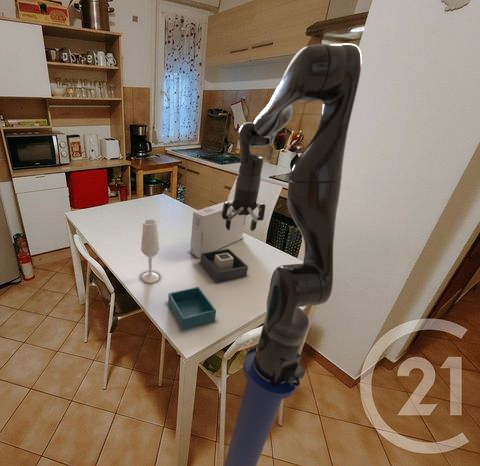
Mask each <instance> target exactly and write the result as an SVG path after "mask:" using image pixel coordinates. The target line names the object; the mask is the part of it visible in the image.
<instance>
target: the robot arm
mask: <svg viewBox="0 0 480 466" xmlns="http://www.w3.org/2000/svg"><path fill="white" fill-rule="evenodd" d="M362 59H363V58H362V52H361V50H360V47H358V46H357V45H356V44H354V43H322V44H321V43H318V44H316V43H315V44H311V45H306V46H303V47H302V48H301V49H300V50H299V51H298V52H297V53H295V55H294V56H293V58H292V59H291V61H290V62H289V64H288V66H287V68H286V69H285V71H284V73H283V75H282V77H281V79H280V80H279V83H278V84H277V86H276V88H275V90H274V92H273V94H272V95H271V98H270V100H269V101H268V103H267V104H266V106H265V107H264V108H263V109H262V110H261V112H259V114H258V115H257V116H256V118H255V120H254V121H246V122H243V124H242V125H241V126H240V128H239V130H238V141H239V142H238V143H239V151H240V162H239V168H238V174H237V177H236V182H235V188H234V189H235V190H234V195H233V199H234V201H233V202H232V203H230V202H227V201H228V200H224V201H223V202H224V205H223V210H222V218H223V219H226V224H225V226H226V228H227V230H230V225H231V219H232V218H233V217H235V216H236V215H237V214H238V215H246V216H248V215H250V217H251V218H252V219H251V222H250V227H249V229H250V231H251V232H254V231H255V230H256V228H257V224H258V222H259V221H264V218H265V211H266V205H265V203H264V202H263V201H260V202H258V203H257V201H258V197H259V192H260V186H261V180H262V178H261V177H262V172H263V168H264V167H263V166H264V161H265V159H264V157H263V155H261V154H258V153H254V152H252V151H251V148H252V147H253V148H266V147H269V146H271V145H272V144H273V143H274V141H275V138H276V136H277V134H278V133H279V132H280V131H281V130H283V128H285V127H286V126H287V125H288V123H289V122H290V120H291V118H292V115H293V104H295V103H298V102H300V103H322V109H321V115H320V119H319V123H318V126H317V129H316V131H315V133H314V135H313V136H312V138H311V139H310V141H309V143H308V144H307V146H306V147H305V148H304V149H303V151H302V152H301V154H300V155H299V156H298V158H297V159H296V161H295V162H294V164H293V165H292V168H291V169H290V172H289V176H288V183H287V184H288V185H287V197H286V205H287V208H288V211H289V213H290V215H291V218H292V220H293V222H294V223H295V225H296V227H297V228H298V230H299V232H300V234H301V237H302V239H303V246H304V248H303V249H304V251H303V253H304V256H303V261H302V263H294V264H281V265H278V266H277V267H276V268H275V269H274V270H273V272H272V274H271V278H270V281H269V282H270V283H269V288H268V293H267V298H266V314H265V317H264V322H263V323H262V328H261V332H260V334H259V335H260V336H259V339H258V342H257V345H256V347H257V350H256V354H255V357H254V360H253V367H254V369H255V371H256V373H257V374H258V375H259V376H260V377H261V378H262V379H263V380H265V381H266V382H268V383H270V384H271V385H272V386H273V387H276V386H278V385H281V384H284V383H286V382H287V383H290V382H293V381H295V380H296V382H297V383H296V382H293V383H292V384H293V385H294V386H297V387H299V386H300V385H301V382H300V379H303V378H304V375H305V373H306V370H304V368H303V367H302V366H301V365H299V363H300V361H301V359H302V355H301V354H300V353H299V352H300V350H301V347H302V344H303V342H304V339H305V337H306V335H307V332H308V329H309V326H310V319H309V316H308V314H307V313H306V311H304V310H303V309H302V308H301V307H312V306H320V305H323V304H326V303H327V302H328V300H329V299H330V297H331V296H332V291H333V284H334V242H335V231H336V220H337V214H338V213H337V212H338V206H339V201H340V194H341V187H342V177H343V167H344V159H345V158H344V157H345V151H346V145H347V144H346V143H347V139H348V132H349V127H350V121H351V118H352V113H353V108H354V105H355V100H356V95H357V91H358V87H359V83H360V78H361V72H362V62H363V61H362ZM231 206H232V207H233V209H232V210H231V211H230V213H229V214H228V215H227V211H228V209H229V208H230V207H231ZM256 209H258V214H257V215H256V214H255V212H254V211H255V210H256Z"/></svg>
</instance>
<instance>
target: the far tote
mask: <svg viewBox="0 0 480 466" xmlns="http://www.w3.org/2000/svg"><path fill="white" fill-rule="evenodd" d="M223 253H229V254H230V255H231V256H232V257H233V258H234V260H233V266H232V269H229V270H225V271H220V272H219V271H218V270H217V269H216V268H215V266H214V260H215V255H218V254H223ZM200 264H201V265H202V266H203V268H204V269H205V270H206V271H207V272H208V273H209V275H210V276H211V277H212V278H213V279H214V280H215V282H216V283H220V282H227V281H230V280H235V279H239V278H243V277H247V274H248V270H249V266H248V264H247V263H245V262H244V261H243V260H242V259H241V258H240V257H239V256H237V254H235V253H234V252H233V251H232V250H231V249H230V248H224V249H218V250H215V251H213V252H207V253H202V254H201V257H200Z"/></svg>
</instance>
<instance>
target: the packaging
mask: <svg viewBox="0 0 480 466" xmlns="http://www.w3.org/2000/svg"><path fill="white" fill-rule="evenodd" d="M226 201H227V202H230V203H232V202H233V201H234V198H232V199H229V200H226ZM224 202H225V201H223V202H220V203H217V204H216V203H215V204H214V205H211V206H207V207H204V208H201V209H198V210H195V211H193V212H192V224H191V235H190V236H191V237H190V249H189V253H190V254H191V255H193V256H195V257H197V258H198V259H201V254H202V253H207V252H213V251H218V250H221V249H222V248H224V247H226V246H229V245H231V244H232V243H235V242H237V241H239V240H242V239H243V235H244V230H245V225H246V219H247V215H238V214H237V215H236V216H235V217H233V218H232V219H231V225H230V230H227V228H226V226H225V224H226V219H223V218H222V210H223V205H224ZM232 209H233V207H232V206H231V207H230V208H229V209H228V211H227V215H228V214H229V213H230V211H231V210H232Z"/></svg>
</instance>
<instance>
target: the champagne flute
mask: <svg viewBox="0 0 480 466" xmlns="http://www.w3.org/2000/svg"><path fill="white" fill-rule="evenodd" d="M141 232H142V233H141V244H140V245H141V246H140V250H141V253H142V254H143V255H144V256H146V257H148V272H146V273H143V274H142V276H141V280H142V281H143V282H145V283H149V284H152V283H156V282H157V281H159V279H160V276H159V275H158V274H157V273H156V272H153V257H155V256H156V255H157V254H158V253H159V252H160V242H159V241H160V240H159V231H158V221H157V220H156V219H152V218H150V219H149V218H147V219H144V220H143V222H142V231H141Z"/></svg>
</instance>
